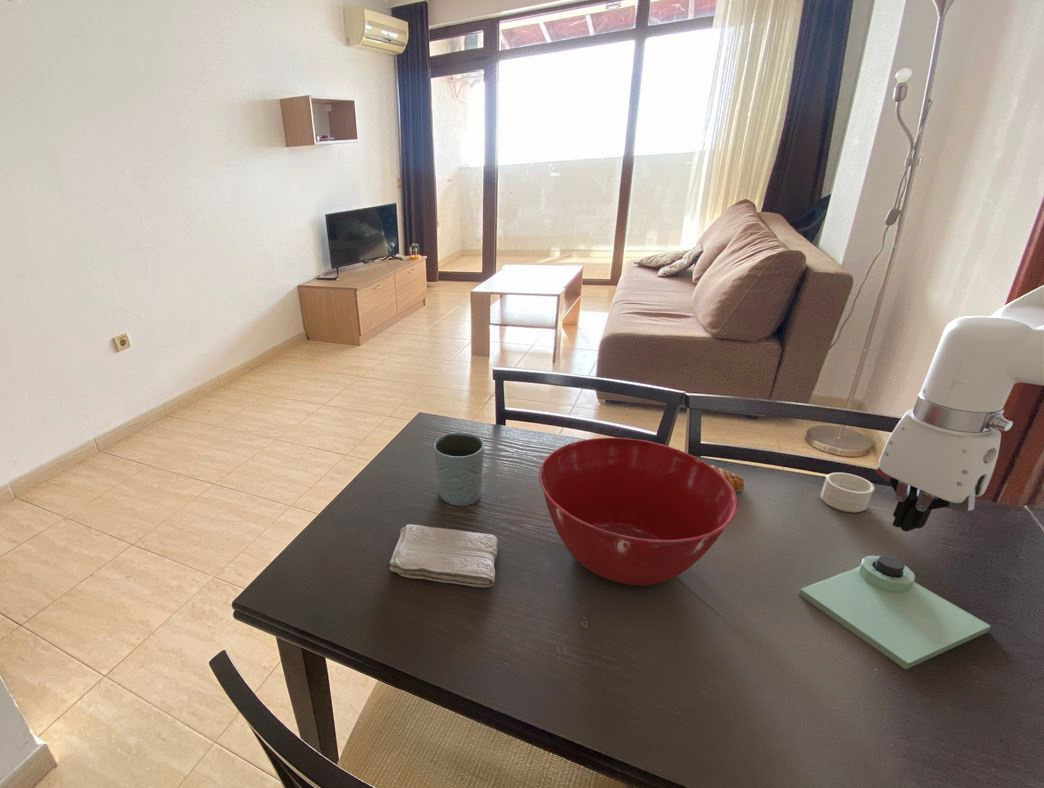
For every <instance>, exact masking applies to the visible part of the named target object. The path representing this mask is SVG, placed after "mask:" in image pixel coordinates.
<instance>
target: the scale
mask: <svg viewBox="0 0 1044 788" xmlns="http://www.w3.org/2000/svg"><path fill="white" fill-rule="evenodd" d="M879 556H880V555H868V556H865V557H863V558H862V559H861V562H860V565H859V566H858V567H855V568H853V569H850V570H848V571H845V572H842V573H839V574H837V575H835V576H832V577H829V578H826V579H824V580H821V581H819V582H818V581H817V582H816V583H813V584H810V585H808V586H805V587H803V588H800V590H799V593H798V595H799V596H800V597H801V598H803V599H804V600H806V601H807V602H809V603H810V604H812V605H813V606H814V607H815V608H817V609H819V610H820V611H821V612H823V613H824V614H826V615H827V616H829V617H830V618H832V619H833V620H834V621H835V622H837V623H839V625H841V626H843V627H844V628H846V629H847V630H849V631H850V632H851V633H853V634H854V635H856V636H857V637H858V638H859V639H861V640H863V641H864V642H866V643H867V644H869V645H870V646H871V647H873V648H874V649H876V650H877V651H878V652H880V653H881V654H883V655H884V656H886V657H887V658H889V660H891V661H892V662H894V663H895V664H897V665H898V666H900V667H901V668H903V669H904V670H908V669H910V668H913V667H914V666H917V665H919V664H921V663H923V662H926V661H928V660H930V659H932V658H935V657H936V656H939V655H941V654H943V653H945V652H948V651H949V650H952V649H954V648H956V647H958V646H961V645H963V644H964V643H967V642H969V641H971V640H974V639H976V638H978V637H980V636H982V635H985V634H987V633H989V631H990V630H991V627H992V626H991V624H989V623H987V622H985V621H983V620H982V619H980V618H978V617H976V616H975V615H973V614H971V613H969V612H968V611H966V610H964V609H962V608H960V607H959V606H957V605H956V604H954V603H951V602H950V601H948V600H947V599H945V598H943V597H941V596H939V595H938V594H936V593H934V592H933V591H931V590H929V589H927V588H925V587H924V586H922V585H920V584H919V583H917V582H915V581H916V575H915V573H914V572H913V570H911V569H910V568H909V567H908V566H907V565H905V564H904V566H905V567H904V569H903V572H902V574H901V576H900V577H898V578H895V577H889V576H886V575H883V574H882V573H880V572H878V571H877V570H876V569H875V567H874V566H875V563H876V561H877V559H878V557H879Z"/></svg>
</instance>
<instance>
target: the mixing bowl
mask: <svg viewBox="0 0 1044 788" xmlns="http://www.w3.org/2000/svg"><path fill="white" fill-rule="evenodd" d="M711 466H712V465H710V464H709V463H707V462H705V461H704V460H702V459H700V458H698V457H696V456H694V455H692V454H690V453H688V452H685V451H683V450H681V449H677V448H675V447H672V446H668V445H666V444H661V443H657V442H653V441H649V440H643V439H636V438H629V437H628V438H627V437H597V438H596V437H595V438H589V439H583V440H577V441H574V442H571V443H568V444H565V445H563V446H561V447H559V448H557V449H555V450H554V451H553V452H551V453H550V454H549V455H547V456H546V458H545V459H544V460H543V461H542V463H541V465H540V468H539V472H538V480H539V484H540V487H541V490H542V492H543V495H544V499H545V503H546V507H547V511H548V512H549V515H550V518H551V520H552V523H553V525H554V528H555V530H556V532H557V534H558V535H559V538H560V539H561V542H562V543H563V544H564V546H565V548H566V549H567V550H568V552H569V553H570V554H571V556H572V557H573V558H574V559H575V560H576V561H577V562H578V563H579V564H581V565H582V566H583V567H584V568H585V569H587V570H588V571H591V573H593V574H595V575H596V576H599V577H601V578H603V579H606V580H608V581H611V582H615V583H619V584H621V585H623V584H624V585H629V586H651V585H657V584H661V583H665V582H667V581H670V580H673V579H674V578H676V577H678V576H679V575H681V574H682V573H684V572H685V571H687V570H689V568H691V567H692V566H694V565H695V564H696V563H697V562H698V561H699V560H700V559H701V558H702V557H703V556H705V554H706V553H707V552H708V551H709V550H710V548H711V547H712V546H714V544H715V543H716V542H717V540H718V539H719V537H720V536H721V534H722V533H723V532H724V530H725V529H726V528H727V527H728V526H729V525H731V523H732V522H733V520H734V518H735V517H736V515H737V512H738V503H739V502H738V497H737V494H736V492H734V490H733V488H732V486H731V485H730V483H729V482H728V481H727V480H726V479H725V478H724V476H723V475H721V474H720V473H719V472H718V471H717V470H715V469H714V468H713V467H711Z"/></svg>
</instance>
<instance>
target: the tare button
mask: <svg viewBox="0 0 1044 788" xmlns="http://www.w3.org/2000/svg"><path fill="white" fill-rule="evenodd" d="M878 556H879V557H878V559H877V561H876V563H875V566H874V567H875V569H876V570H877V571H878V572H880V573H882V574H883V575H886V576H889V577H895V578H898V577H900V576H901V574H902V572H903V569H904V567H905V566H906V565H905V564H904V562H902V561H901V560H900V559H898V558H897V557H894V556H891V555H885V554H883V555H878ZM904 565H905V566H904Z"/></svg>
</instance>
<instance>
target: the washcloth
mask: <svg viewBox="0 0 1044 788" xmlns="http://www.w3.org/2000/svg"><path fill="white" fill-rule="evenodd" d="M399 532H400V535H399V539H398V540H397V543H396V545H395V548H394V550H393V553H392V556H391V559H390V561H389V565H390V566H389V571H391V572H393V573H396V574H397V575H399V576H401V577H404V578H407V579H416V580H427V581H432V582H438V583H444V584H454V585H460V586H468V587H475V588H491V587H492V586H495V582H496V569H495V563H496V559H497V556H498V546H499V543H498V542H499V540H498V538H497V536H495V535H494V534H489V533H482V532H481V533H480V532H472V531H466V530H458V529H454V528H453V529H452V528H451V529H449V528H443V527H433V526H426V525H419V524H411V523H409V524H406V525H405V527H402V528H400V530H399Z"/></svg>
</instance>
